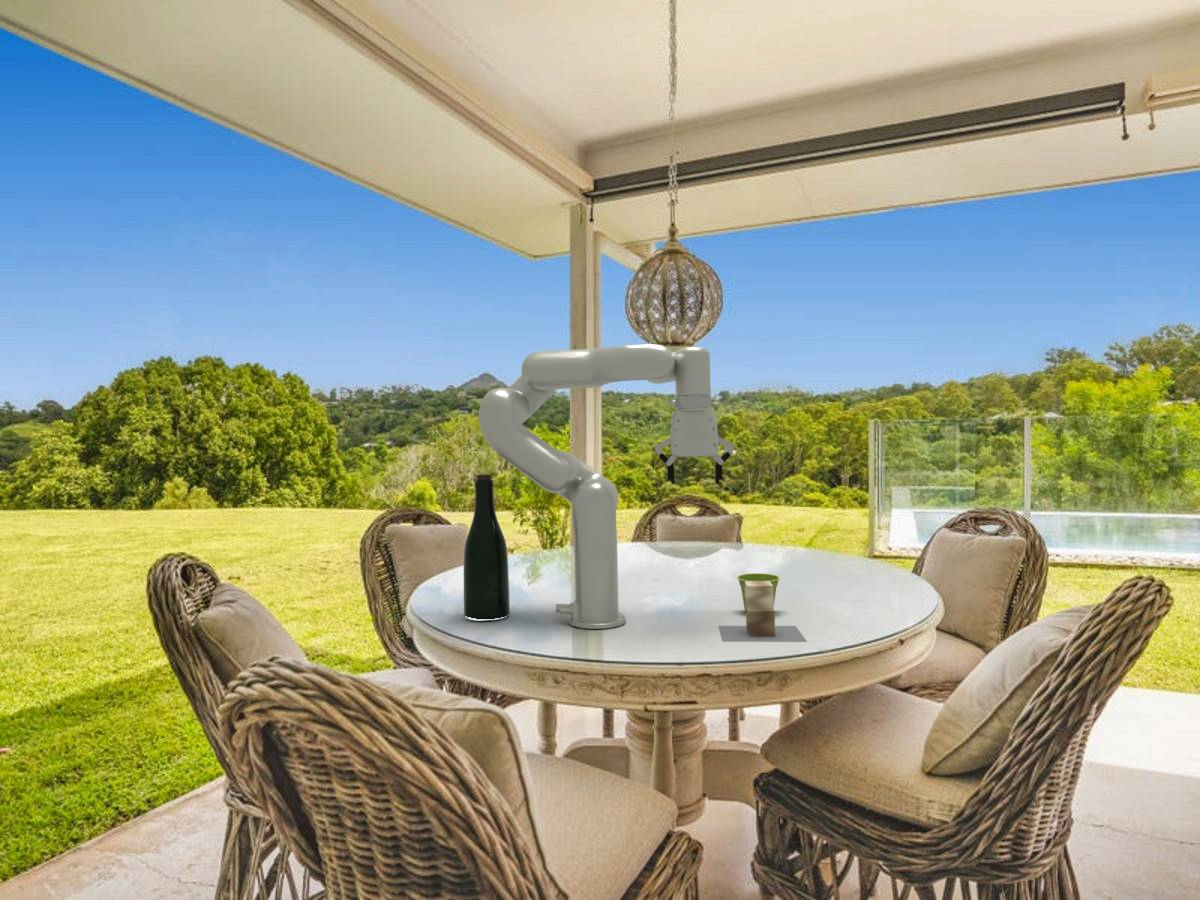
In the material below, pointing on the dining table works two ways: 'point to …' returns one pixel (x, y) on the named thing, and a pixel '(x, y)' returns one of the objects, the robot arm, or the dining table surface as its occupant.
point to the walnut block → (760, 623)
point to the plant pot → (757, 577)
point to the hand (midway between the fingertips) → (695, 483)
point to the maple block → (759, 596)
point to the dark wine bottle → (485, 559)
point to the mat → (742, 636)
